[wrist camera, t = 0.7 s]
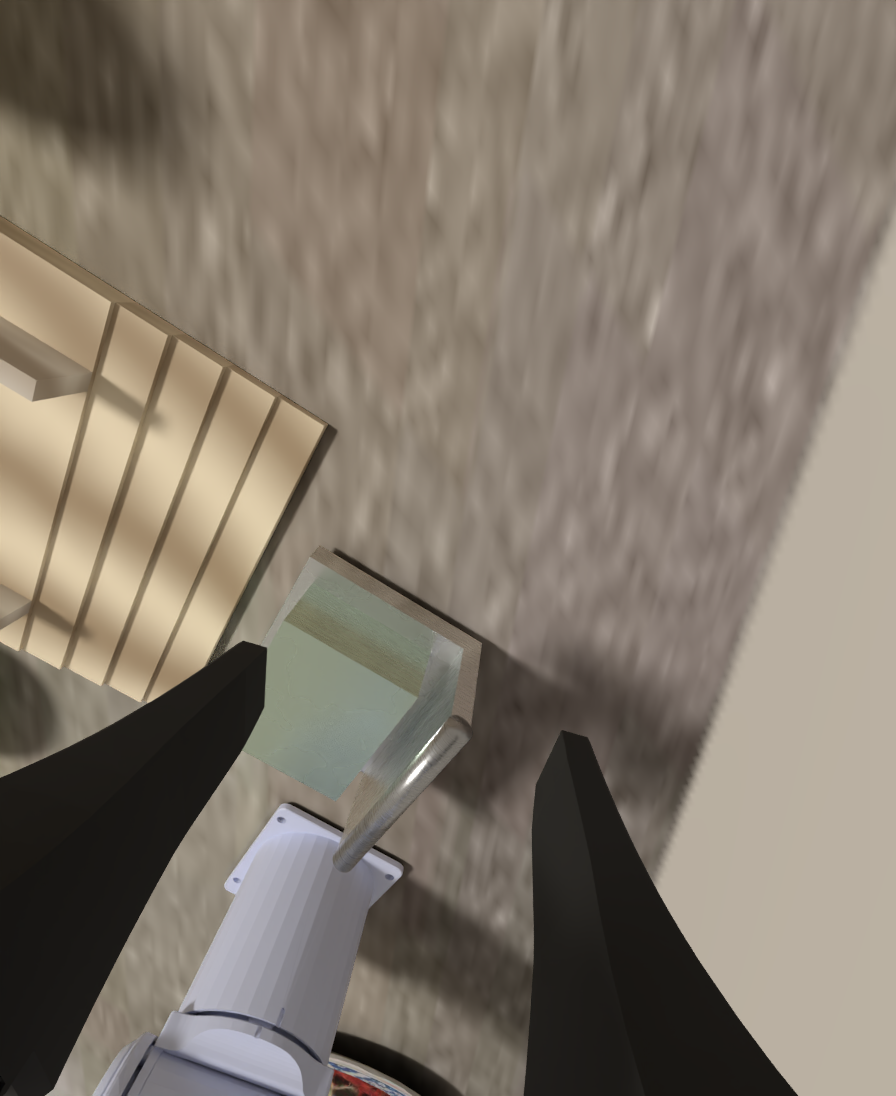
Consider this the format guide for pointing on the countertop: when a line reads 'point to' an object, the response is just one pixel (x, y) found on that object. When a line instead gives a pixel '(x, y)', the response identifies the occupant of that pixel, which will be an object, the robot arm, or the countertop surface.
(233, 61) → the countertop surface
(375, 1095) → the ceramic plate
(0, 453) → the dock
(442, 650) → the green and grey box
